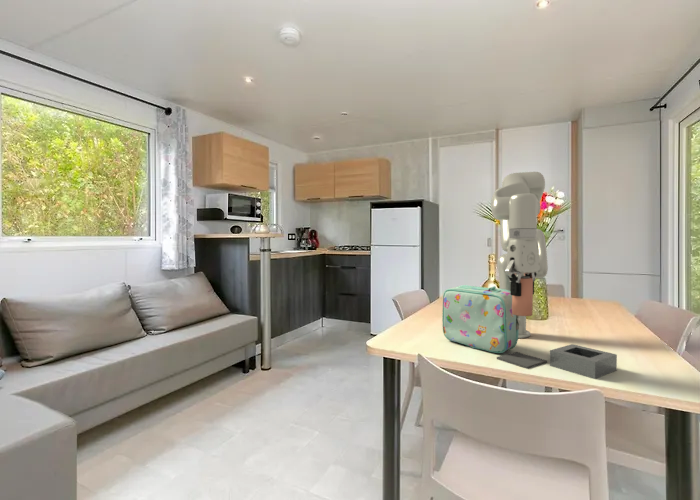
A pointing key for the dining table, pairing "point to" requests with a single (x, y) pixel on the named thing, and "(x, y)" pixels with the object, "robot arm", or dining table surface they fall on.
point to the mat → (522, 360)
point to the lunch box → (480, 318)
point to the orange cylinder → (524, 298)
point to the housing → (583, 360)
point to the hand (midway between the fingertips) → (522, 294)
